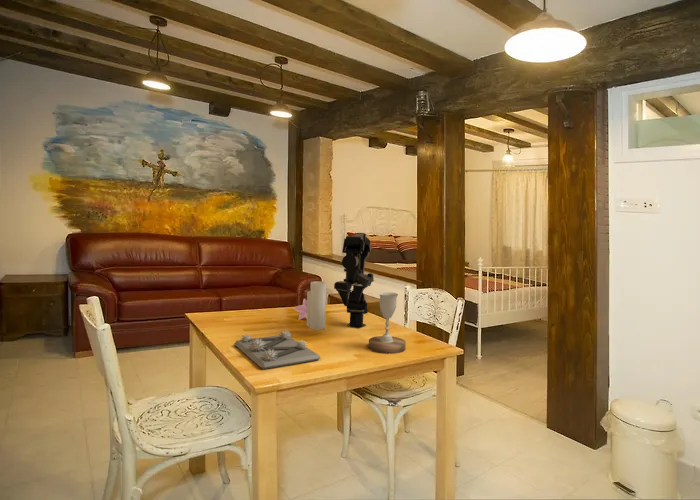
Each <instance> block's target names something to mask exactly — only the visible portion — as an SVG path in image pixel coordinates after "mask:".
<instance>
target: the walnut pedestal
mask: <svg viewBox="0 0 700 500" xmlns="http://www.w3.org/2000/svg"><path fill="white" fill-rule="evenodd" d="M381 337H382V335H379V336H378V335H377V336H374V337H371V338H369V339H368V349H369V350H371V351H372V352H375V353H378V354H379V353H381V354H389V353H390V354H400V353H402V352H403V353H404V351H406V348H407V345H406V344H407V342H406V340H405V339H403V338H400V337H397V336H392V339H393V342H391V343H384V342H381V341H380V340H381Z"/></svg>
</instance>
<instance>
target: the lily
mask: <svg viewBox="0 0 700 500" xmlns="http://www.w3.org/2000/svg"><path fill="white" fill-rule="evenodd" d="M293 310H294V311H296V312H298V313H299V316H298V321H300V320H303V319H304V318H305V319H306V320H307V298H303V301H302V304H300V305H296V306H295V307H293Z"/></svg>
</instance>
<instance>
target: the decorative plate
mask: <svg viewBox="0 0 700 500" xmlns="http://www.w3.org/2000/svg"><path fill="white" fill-rule="evenodd" d="M279 333H280V334H278V335H269V336H262V337H254V338H253V337H252V335H250V334H247V333H245V335H241V339H237V340H235V342H234V345H235V346H236V347H237V348H238V349H239V350H240V351H241V352H242V353H244V354H245V355H246V356H247V357H248V358H249V359H251V360H252V361H253V362H254V363H255V364H257V366H259V367H260V368H261V369H262V370H269V368H270V369H274V368H275V367H276V368H280V367H281V366H282V367H287V365H288V366H292V365H297V364H304V363H309V362H317V361H319V360H320V359H321V355H319V354H318V353H316V352H315V351H314V350H312V349H310V348H308V346H307V345H308V342H306V341H305V340H303V339H300V340H298V341H297V340H295V339H294V338H293V337H292V336H291V335H292V333H291V332H290V331H289V330H287V329H284V330H283V331H282V330H281V331H280V332H279Z"/></svg>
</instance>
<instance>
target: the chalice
mask: <svg viewBox="0 0 700 500" xmlns="http://www.w3.org/2000/svg"><path fill="white" fill-rule="evenodd" d="M378 295H379V308H380V311H381V314H382V316H383V318H384V319H385V327H384V329H385V333H383V334H382V335H381V336H382V337H381V340H380V341H381V342H384V343H391V342H393V339H392V337H393V336H392V335H391V334H390V333H389V330H390V327H389V326H390V319H392V317H393V315H394V313H395V312H396V309H397V298H398V295H399V293H396V292H387V291H385V292H379V293H378Z"/></svg>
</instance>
